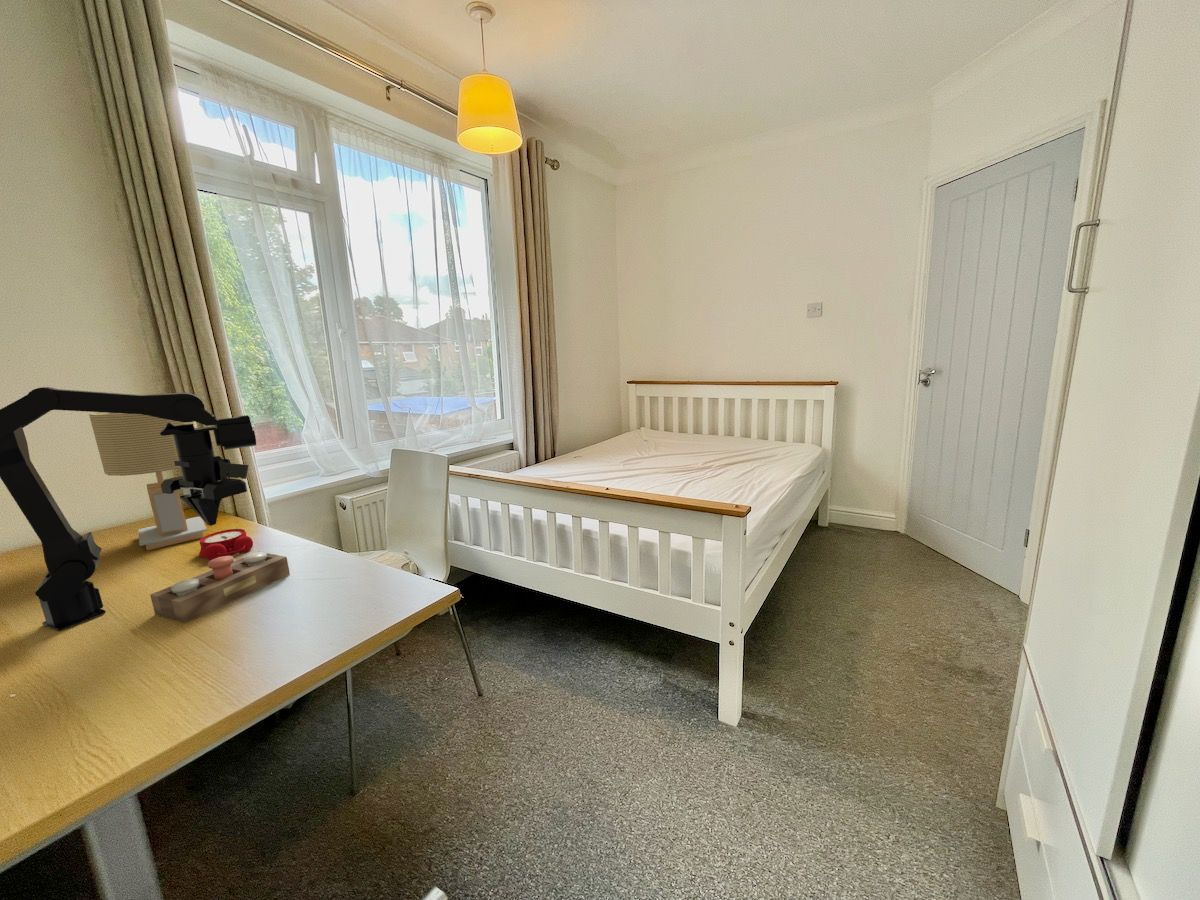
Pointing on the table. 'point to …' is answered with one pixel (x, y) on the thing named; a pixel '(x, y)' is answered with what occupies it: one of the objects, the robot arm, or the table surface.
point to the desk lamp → (146, 470)
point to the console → (219, 589)
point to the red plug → (221, 567)
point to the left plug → (185, 587)
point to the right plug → (255, 558)
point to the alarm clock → (225, 543)
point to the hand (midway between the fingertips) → (212, 524)
